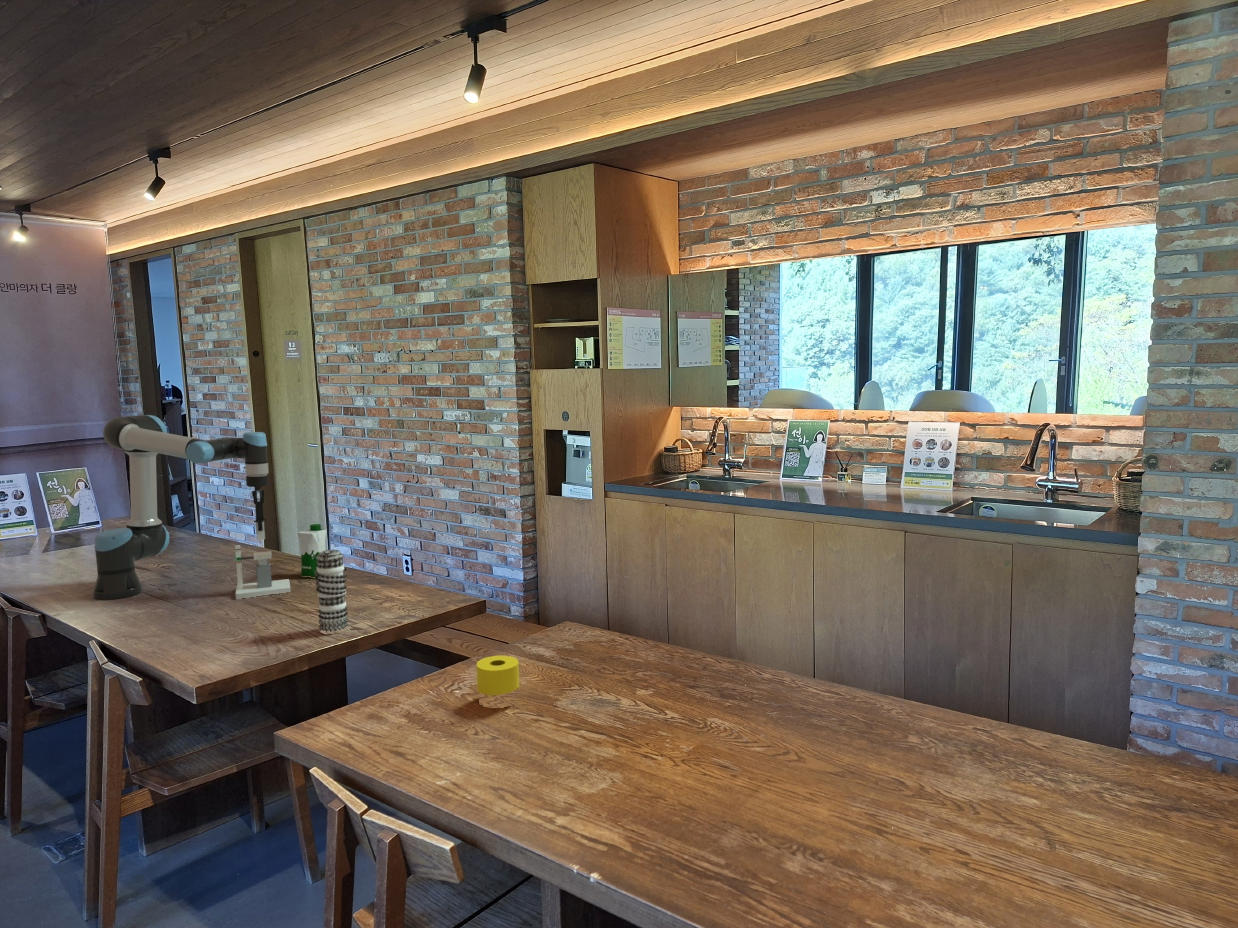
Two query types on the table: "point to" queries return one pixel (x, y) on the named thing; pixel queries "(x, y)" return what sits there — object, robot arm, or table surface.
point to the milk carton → (311, 548)
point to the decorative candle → (331, 590)
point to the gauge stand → (258, 581)
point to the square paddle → (260, 557)
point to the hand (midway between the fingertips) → (261, 539)
